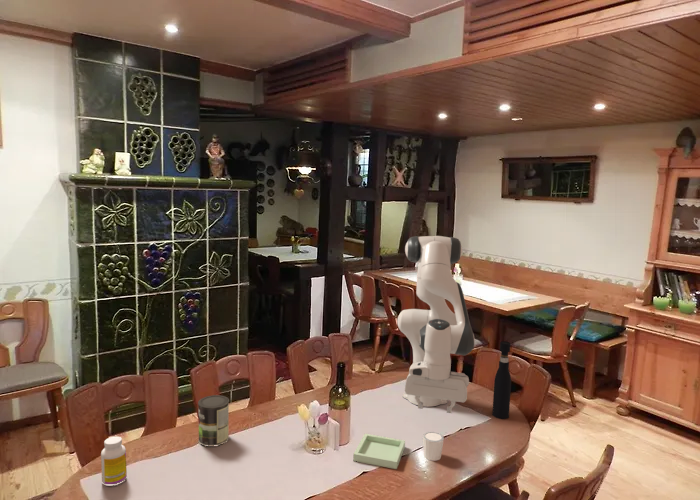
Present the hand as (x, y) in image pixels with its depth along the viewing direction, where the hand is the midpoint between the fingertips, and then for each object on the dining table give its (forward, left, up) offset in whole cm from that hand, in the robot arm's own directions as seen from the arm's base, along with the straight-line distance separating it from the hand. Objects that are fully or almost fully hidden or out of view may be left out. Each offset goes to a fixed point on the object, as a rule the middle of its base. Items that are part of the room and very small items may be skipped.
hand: (434, 410), depth 161 cm
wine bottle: (-40, +22, -16) cm, 49 cm away
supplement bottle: (+46, -88, -17) cm, 101 cm away
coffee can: (+15, -74, -17) cm, 77 cm away
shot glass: (0, 0, -17) cm, 17 cm away
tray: (+4, -17, -16) cm, 24 cm away
